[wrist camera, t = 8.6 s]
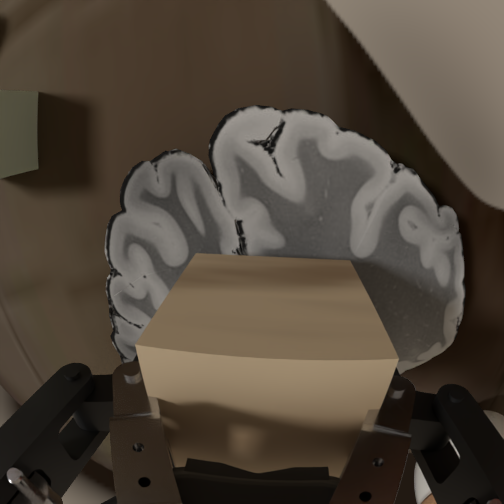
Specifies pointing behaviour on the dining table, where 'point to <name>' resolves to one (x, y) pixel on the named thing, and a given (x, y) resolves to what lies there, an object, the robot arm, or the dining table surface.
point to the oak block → (266, 361)
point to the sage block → (18, 132)
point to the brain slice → (290, 224)
